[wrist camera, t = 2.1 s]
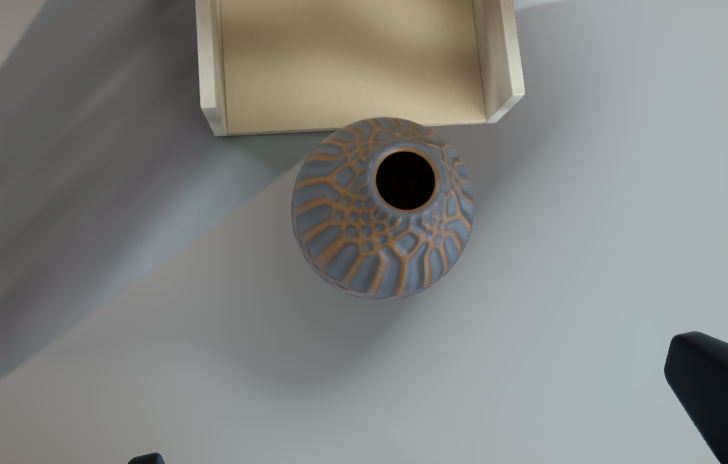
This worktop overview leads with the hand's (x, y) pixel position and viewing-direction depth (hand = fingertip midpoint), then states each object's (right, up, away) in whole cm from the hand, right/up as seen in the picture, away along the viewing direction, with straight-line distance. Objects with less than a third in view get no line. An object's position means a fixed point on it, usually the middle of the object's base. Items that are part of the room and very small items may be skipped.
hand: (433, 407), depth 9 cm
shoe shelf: (-2, +12, +16) cm, 20 cm away
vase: (-1, +3, +15) cm, 16 cm away
